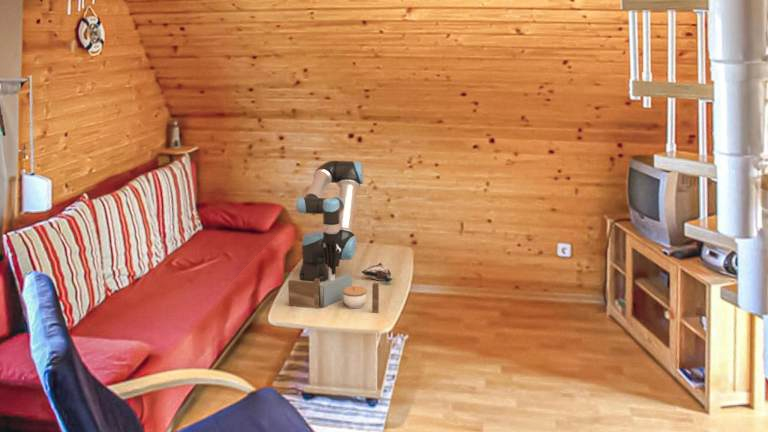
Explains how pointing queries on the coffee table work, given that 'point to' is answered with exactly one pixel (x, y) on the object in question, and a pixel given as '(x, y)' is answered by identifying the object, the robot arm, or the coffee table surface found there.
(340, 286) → the door
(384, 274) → the decorative duck model
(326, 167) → the robot arm
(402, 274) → the coffee table surface
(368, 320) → the coffee table surface
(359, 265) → the coffee table surface
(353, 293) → the lidded jar
